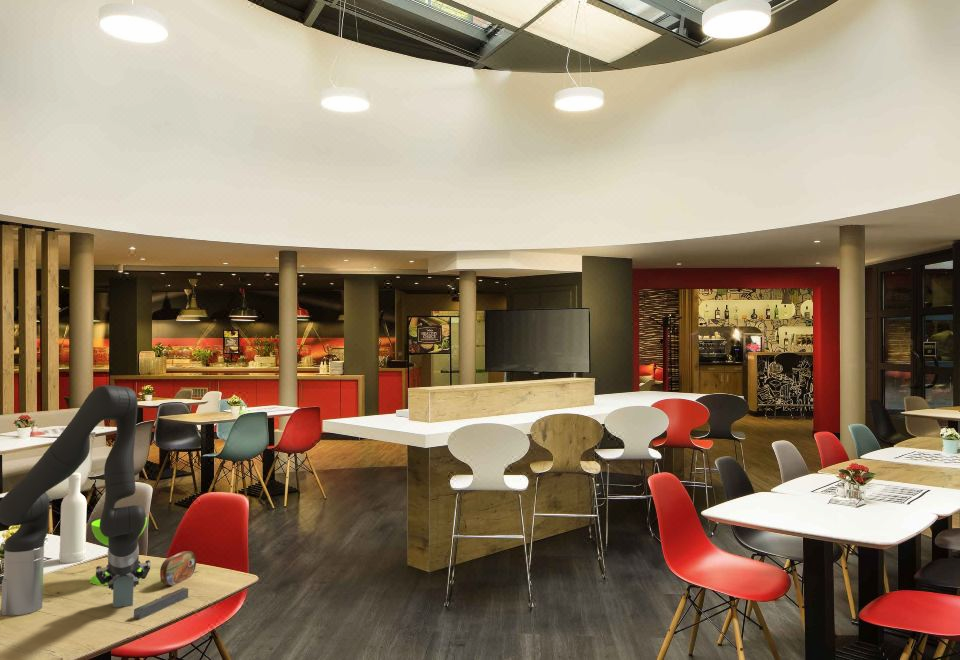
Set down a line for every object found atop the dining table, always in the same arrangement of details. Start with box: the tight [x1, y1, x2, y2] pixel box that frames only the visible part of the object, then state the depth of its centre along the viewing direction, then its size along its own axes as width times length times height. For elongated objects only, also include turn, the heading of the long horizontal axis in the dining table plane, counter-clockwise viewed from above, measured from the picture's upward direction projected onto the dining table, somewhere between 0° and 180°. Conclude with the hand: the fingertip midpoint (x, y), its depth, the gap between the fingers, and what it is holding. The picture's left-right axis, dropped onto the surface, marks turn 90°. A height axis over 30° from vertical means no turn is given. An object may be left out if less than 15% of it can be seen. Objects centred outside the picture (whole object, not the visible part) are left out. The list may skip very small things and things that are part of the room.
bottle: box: [59, 472, 88, 564], centre depth 236 cm, size 8×8×30 cm
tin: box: [159, 550, 197, 587], centre depth 214 cm, size 15×3×8 cm, turn 168°
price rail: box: [133, 587, 189, 620], centre depth 191 cm, size 18×3×2 cm, turn 161°
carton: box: [112, 576, 135, 608], centre depth 194 cm, size 5×4×10 cm
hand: (123, 585), depth 196 cm, fingers closed on carton, 5 cm apart
